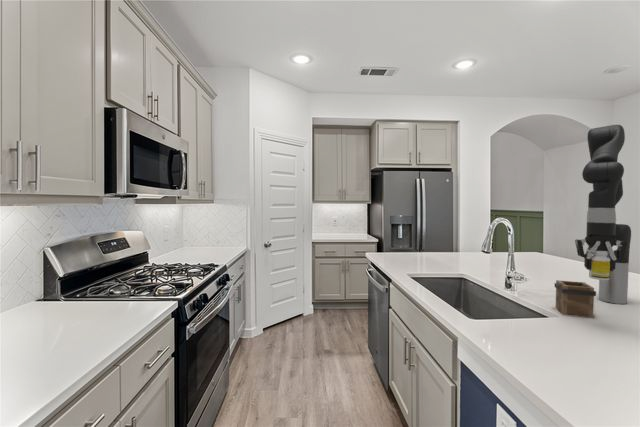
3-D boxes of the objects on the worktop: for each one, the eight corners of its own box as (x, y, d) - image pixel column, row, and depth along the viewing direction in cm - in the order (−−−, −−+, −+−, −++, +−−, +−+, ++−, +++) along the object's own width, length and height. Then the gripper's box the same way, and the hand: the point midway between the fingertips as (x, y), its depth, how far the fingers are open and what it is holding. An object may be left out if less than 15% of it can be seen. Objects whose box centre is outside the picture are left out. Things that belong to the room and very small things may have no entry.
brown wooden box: (553, 306, 132) (554, 279, 132) (584, 309, 129) (585, 282, 128) (561, 314, 123) (562, 285, 123) (595, 318, 119) (596, 288, 119)
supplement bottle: (613, 281, 109) (614, 251, 109) (595, 280, 110) (596, 251, 110) (603, 277, 114) (604, 249, 114) (585, 276, 116) (586, 249, 115)
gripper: (622, 220, 112) (620, 269, 113) (571, 220, 118) (570, 266, 118) (633, 222, 105) (631, 274, 106) (579, 221, 111) (578, 270, 111)
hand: (599, 269), depth 112 cm, fingers closed on supplement bottle, 5 cm apart
